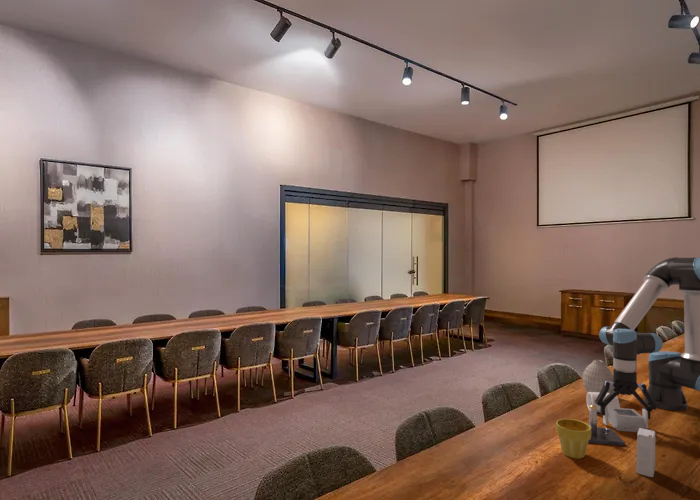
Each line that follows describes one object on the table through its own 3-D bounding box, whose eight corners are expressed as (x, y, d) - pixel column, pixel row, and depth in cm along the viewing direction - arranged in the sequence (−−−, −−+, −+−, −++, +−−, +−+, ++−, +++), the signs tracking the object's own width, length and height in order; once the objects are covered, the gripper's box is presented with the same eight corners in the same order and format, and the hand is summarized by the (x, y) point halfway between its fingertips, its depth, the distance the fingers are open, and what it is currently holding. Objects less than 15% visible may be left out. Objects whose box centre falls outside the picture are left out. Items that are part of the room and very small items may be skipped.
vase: (584, 399, 190) (584, 362, 191) (580, 391, 202) (580, 356, 203) (617, 403, 186) (617, 365, 186) (611, 394, 198) (611, 358, 198)
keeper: (611, 431, 156) (611, 400, 156) (625, 445, 144) (624, 412, 144) (564, 427, 160) (564, 397, 160) (574, 441, 148) (573, 409, 148)
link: (633, 423, 164) (633, 409, 164) (644, 432, 155) (644, 417, 155) (608, 421, 166) (607, 407, 166) (617, 430, 157) (617, 415, 157)
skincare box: (638, 465, 131) (637, 426, 131) (656, 470, 128) (655, 430, 128) (636, 473, 126) (635, 433, 126) (654, 478, 123) (653, 437, 123)
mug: (619, 416, 171) (619, 397, 171) (593, 414, 173) (592, 395, 173) (608, 406, 182) (607, 387, 183) (583, 404, 184) (582, 386, 185)
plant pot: (590, 464, 132) (590, 433, 132) (554, 456, 137) (554, 426, 137) (592, 451, 140) (591, 422, 141) (557, 444, 146) (557, 416, 146)
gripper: (656, 369, 162) (657, 424, 161) (585, 365, 167) (586, 418, 167) (666, 374, 154) (667, 432, 154) (592, 370, 160) (592, 426, 159)
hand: (625, 425), depth 160 cm, fingers open, 13 cm apart
